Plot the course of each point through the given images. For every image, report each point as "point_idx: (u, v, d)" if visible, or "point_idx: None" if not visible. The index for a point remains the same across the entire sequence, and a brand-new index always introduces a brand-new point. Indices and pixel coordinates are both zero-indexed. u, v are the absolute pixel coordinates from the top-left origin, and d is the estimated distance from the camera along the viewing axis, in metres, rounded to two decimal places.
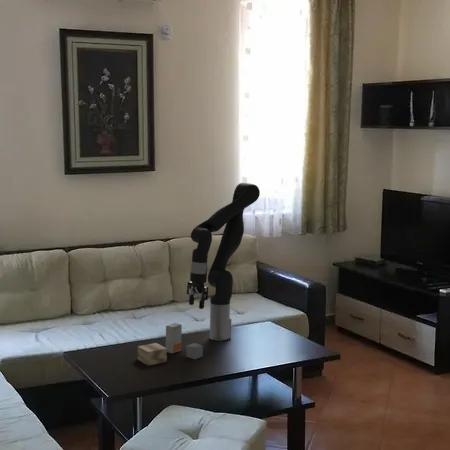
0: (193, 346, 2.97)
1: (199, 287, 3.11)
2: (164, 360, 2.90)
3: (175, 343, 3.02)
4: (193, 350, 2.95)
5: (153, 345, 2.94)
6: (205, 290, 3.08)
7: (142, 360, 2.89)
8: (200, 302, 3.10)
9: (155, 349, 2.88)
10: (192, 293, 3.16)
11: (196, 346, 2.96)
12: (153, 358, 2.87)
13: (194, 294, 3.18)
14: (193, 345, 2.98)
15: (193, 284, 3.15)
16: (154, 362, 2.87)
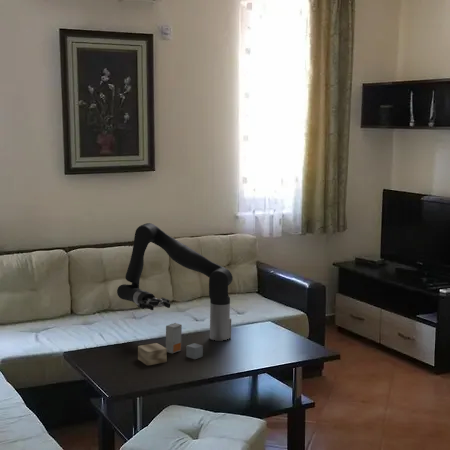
0: (193, 346, 2.97)
1: None
2: (164, 360, 2.90)
3: (175, 343, 3.02)
4: (193, 350, 2.95)
5: (153, 345, 2.94)
6: (138, 304, 3.15)
7: (142, 360, 2.90)
8: (149, 308, 3.11)
9: (155, 349, 2.88)
10: (161, 304, 3.18)
11: (196, 346, 2.96)
12: (153, 359, 2.87)
13: (162, 301, 3.17)
14: (193, 345, 2.98)
15: None
16: (154, 362, 2.87)
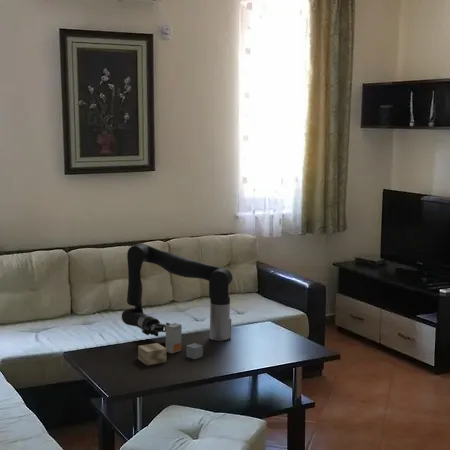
0: (193, 346, 2.97)
1: None
2: (164, 360, 2.90)
3: (175, 343, 3.02)
4: (193, 350, 2.95)
5: (153, 345, 2.94)
6: (143, 330, 3.13)
7: (142, 360, 2.90)
8: (153, 334, 3.09)
9: (154, 349, 2.88)
10: None
11: (196, 346, 2.96)
12: (152, 359, 2.87)
13: None
14: (193, 345, 2.98)
15: None
16: (153, 362, 2.87)
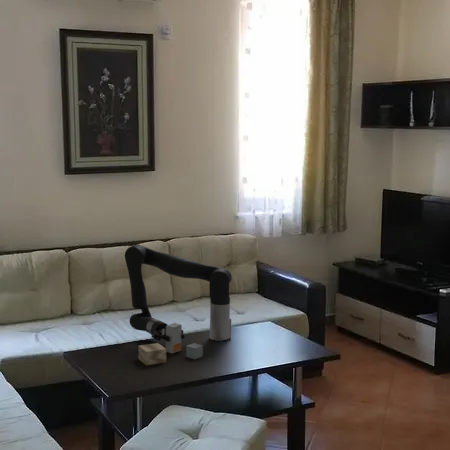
0: (193, 346, 2.97)
1: None
2: (163, 361, 2.89)
3: (175, 343, 3.02)
4: (193, 350, 2.95)
5: (154, 345, 2.94)
6: (153, 335, 3.05)
7: (142, 360, 2.90)
8: (164, 339, 3.02)
9: (154, 349, 2.88)
10: None
11: (196, 346, 2.96)
12: (152, 359, 2.87)
13: None
14: (193, 345, 2.98)
15: None
16: (153, 362, 2.87)
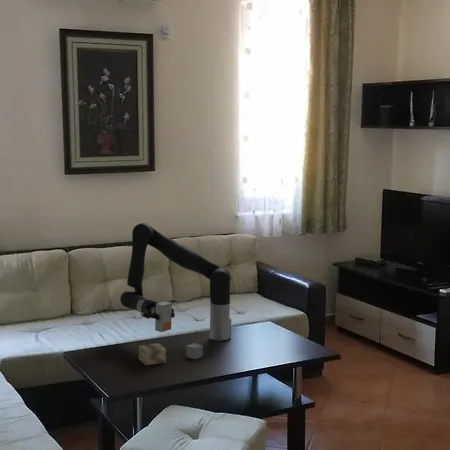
0: (193, 346, 2.97)
1: None
2: (163, 361, 2.89)
3: (165, 321, 2.95)
4: (193, 350, 2.95)
5: (154, 345, 2.94)
6: (142, 314, 2.99)
7: (141, 359, 2.90)
8: (154, 318, 2.96)
9: (154, 349, 2.88)
10: None
11: (196, 346, 2.96)
12: (151, 359, 2.87)
13: None
14: (193, 345, 2.98)
15: None
16: (152, 362, 2.87)
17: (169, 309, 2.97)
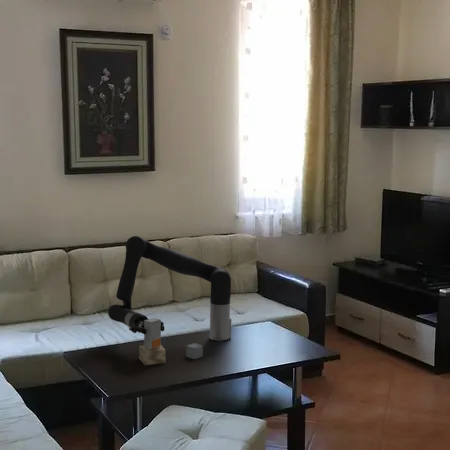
0: (193, 346, 2.97)
1: None
2: (163, 361, 2.89)
3: (154, 338, 2.89)
4: (193, 350, 2.95)
5: None
6: (130, 328, 2.92)
7: (141, 360, 2.90)
8: None
9: (153, 349, 2.88)
10: None
11: (196, 346, 2.96)
12: (151, 359, 2.87)
13: None
14: (193, 345, 2.98)
15: None
16: (151, 362, 2.87)
17: (158, 326, 2.90)
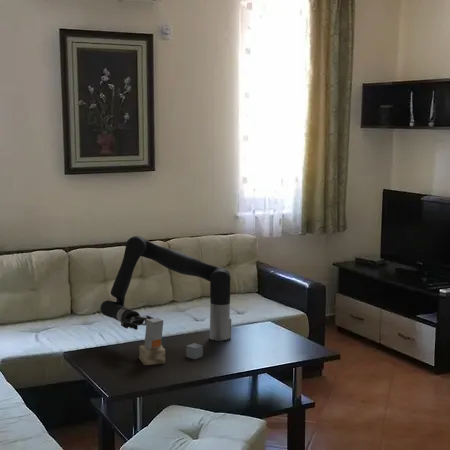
0: (193, 346, 2.97)
1: None
2: (162, 361, 2.89)
3: (154, 339, 2.88)
4: (193, 350, 2.95)
5: None
6: (121, 323, 2.98)
7: (141, 359, 2.90)
8: (132, 327, 2.95)
9: (153, 350, 2.88)
10: None
11: (196, 346, 2.96)
12: (150, 359, 2.87)
13: None
14: (193, 345, 2.98)
15: None
16: (151, 362, 2.87)
17: (160, 326, 2.89)
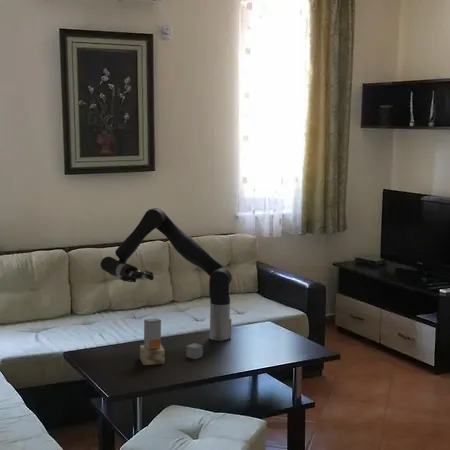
0: (193, 346, 2.97)
1: None
2: (161, 362, 2.88)
3: (152, 338, 2.88)
4: (193, 350, 2.95)
5: None
6: (120, 277, 3.05)
7: (141, 359, 2.91)
8: (131, 280, 3.02)
9: (152, 350, 2.88)
10: (144, 276, 3.08)
11: (196, 346, 2.96)
12: (149, 359, 2.87)
13: (146, 273, 3.08)
14: (193, 345, 2.98)
15: None
16: (150, 362, 2.87)
17: (157, 326, 2.89)
